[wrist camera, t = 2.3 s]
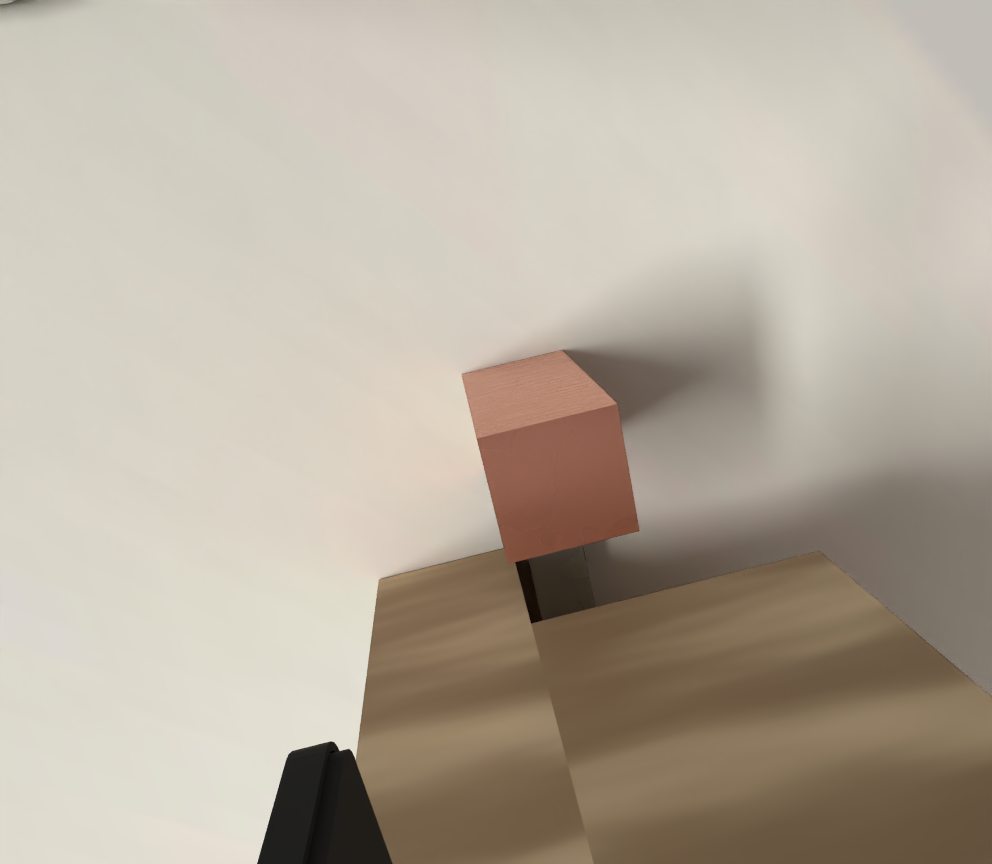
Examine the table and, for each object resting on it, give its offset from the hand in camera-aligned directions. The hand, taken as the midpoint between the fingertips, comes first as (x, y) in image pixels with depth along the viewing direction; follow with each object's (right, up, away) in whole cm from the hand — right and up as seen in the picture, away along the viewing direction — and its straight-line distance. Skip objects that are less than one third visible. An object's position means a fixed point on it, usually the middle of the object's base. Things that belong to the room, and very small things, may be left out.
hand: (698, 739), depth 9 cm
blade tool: (0, -3, +17) cm, 17 cm away
